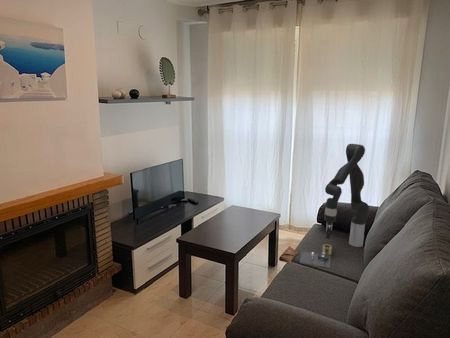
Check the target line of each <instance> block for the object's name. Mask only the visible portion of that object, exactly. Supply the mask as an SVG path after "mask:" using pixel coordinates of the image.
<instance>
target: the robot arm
mask: <svg viewBox="0 0 450 338" xmlns="http://www.w3.org/2000/svg"><path fill="white" fill-rule="evenodd" d="M365 153H366V147H365V146H364V145H363V144H359V143H349V144H347V146H346V148H345V155H346V160H347V162H346V163H345V164H344V165H342V166H341V167H340V168H339V169H338V170H337V172H336V174H335V176H334V177H333V178H332V179H331V180H330V181H329V182H328V183H327V185H326V186H325V187H324V191H325V193H326V194H327V195H330V196H332V197H328V198H327V199H326V202H325V210H324V221H325V222H326V228H325V229H326V237H325V238H326V239H328V240H330V239H331V234H332V230H333V224H334V223H335V222H336V221H337V215H338V204H339V200H340V197H341V196H342V193H343V191H342V187H341V186H340V185H344V183H346V181H347V178H348V177H349V185H350V208H351V210H352V211H353V212H355V213H356V214H355V216H353V217H351V223H350V232H349V240H348V244H349V245H350V247H351V246H352V247H356V248H363V245H364V238H365V229H366V228H365V227H366V222H367V219H368V216H369V211H370V206H369V204H368V203H367V202H365V201H364V200H362V196H361V192H362V190H363V188H364V186H365V175H364V173H363V171H362V169H361V168H360V166H359V164H358V163H359V162H360V161H361V160H362V159H363V157H364V156H365ZM338 185H339V186H338Z"/></svg>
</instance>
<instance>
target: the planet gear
mask: <svg viewBox="0 0 450 338" xmlns="http://www.w3.org/2000/svg"><path fill="white" fill-rule="evenodd" d="M332 248H333V246H332V245H330V244H327V243H326V244H322V250H321V252H325V253H327V254H329V256H332V250H333V249H332Z"/></svg>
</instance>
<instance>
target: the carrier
mask: <svg viewBox="0 0 450 338" xmlns="http://www.w3.org/2000/svg"><path fill="white" fill-rule="evenodd" d="M299 264H302V265H303V264H304V265H309V266H310V265H311V266H316V267H322V268H327V269H331V255H329V254H327V253H325V252H322V251H320V252H318V253H315V252H314V251H311V252H308V251H301V253H300V257H299Z"/></svg>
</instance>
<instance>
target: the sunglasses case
mask: <svg viewBox="0 0 450 338" xmlns="http://www.w3.org/2000/svg"><path fill="white" fill-rule="evenodd" d="M298 254H300V252H299V251H297V250H295V249H294V248H293V247H291V246H290V245H289V246H288V247H287V248H286V249H285V250H284V251H283V252H282V254H281V255H279V257H278V260H279V261H280V262H283V263H287V264H292V262H293V261H294V259H295V258H296V257H297V255H298Z"/></svg>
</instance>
